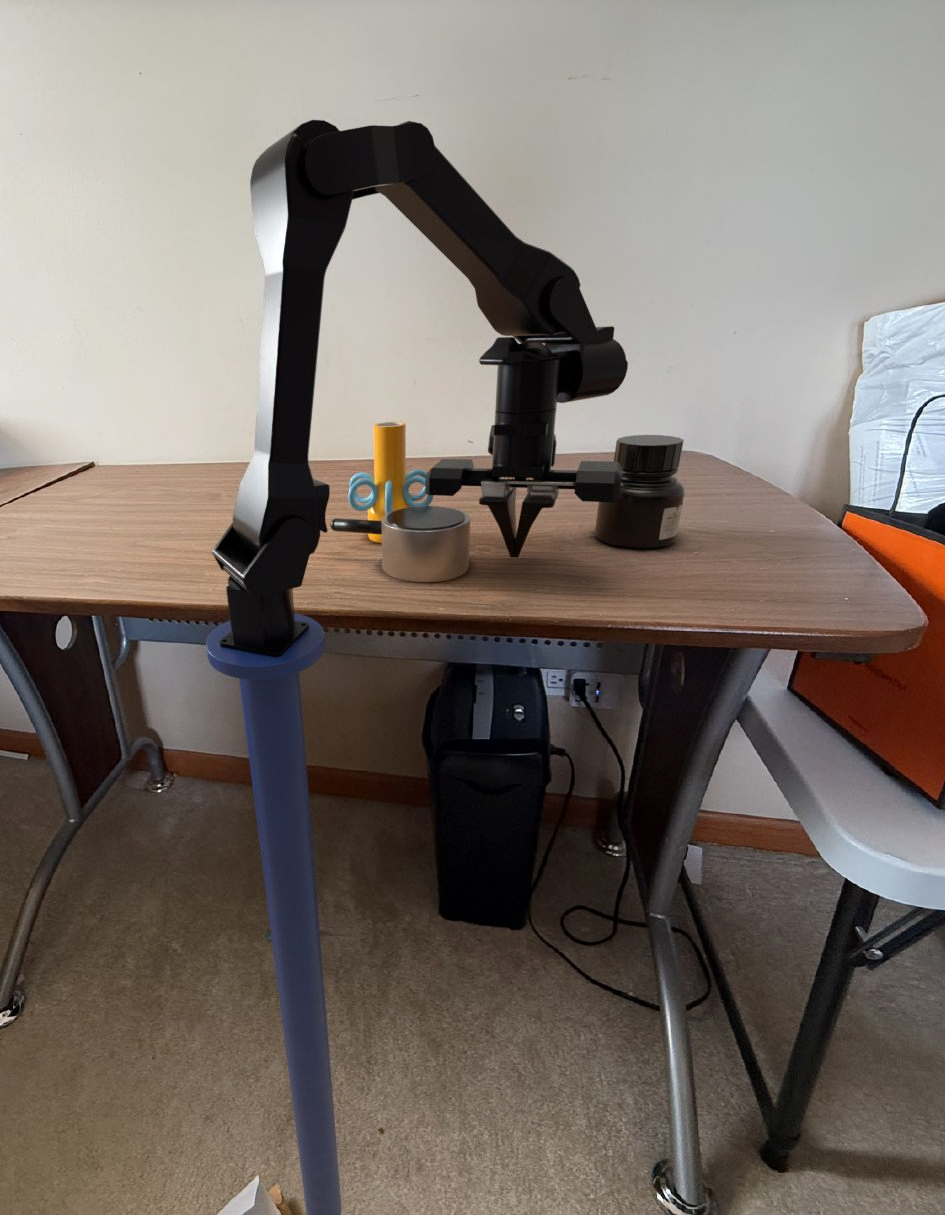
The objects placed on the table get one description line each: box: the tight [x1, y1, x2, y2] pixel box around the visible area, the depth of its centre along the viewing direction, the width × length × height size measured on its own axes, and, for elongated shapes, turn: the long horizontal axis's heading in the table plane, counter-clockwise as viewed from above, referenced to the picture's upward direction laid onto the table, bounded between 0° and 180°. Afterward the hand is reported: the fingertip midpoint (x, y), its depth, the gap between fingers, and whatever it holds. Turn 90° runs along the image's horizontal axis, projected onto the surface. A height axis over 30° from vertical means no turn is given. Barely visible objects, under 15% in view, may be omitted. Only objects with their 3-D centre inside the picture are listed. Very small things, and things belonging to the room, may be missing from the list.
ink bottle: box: [594, 434, 686, 549], centre depth 75 cm, size 10×9×12 cm
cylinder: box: [347, 421, 435, 544], centre depth 82 cm, size 12×10×15 cm
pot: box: [329, 505, 471, 583], centre depth 74 cm, size 17×10×6 cm, turn 64°
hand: (514, 556), depth 69 cm, fingers closed
